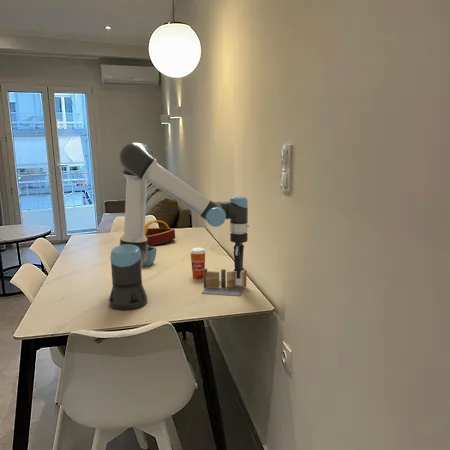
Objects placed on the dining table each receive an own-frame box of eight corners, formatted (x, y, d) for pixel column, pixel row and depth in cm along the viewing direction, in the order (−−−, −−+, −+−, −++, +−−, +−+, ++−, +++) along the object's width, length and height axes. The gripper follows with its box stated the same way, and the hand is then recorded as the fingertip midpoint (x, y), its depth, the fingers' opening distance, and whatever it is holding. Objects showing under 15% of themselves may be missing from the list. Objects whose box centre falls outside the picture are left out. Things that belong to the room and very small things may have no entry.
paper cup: (189, 279, 190) (188, 251, 187) (192, 274, 197) (191, 247, 195) (205, 279, 189) (204, 251, 186) (207, 274, 196) (207, 247, 194)
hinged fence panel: (226, 287, 177) (226, 270, 175) (226, 285, 178) (226, 269, 177) (246, 286, 177) (246, 270, 175) (246, 285, 178) (246, 269, 177)
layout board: (240, 296, 168) (240, 295, 168) (201, 293, 171) (201, 292, 171) (245, 282, 184) (245, 282, 184) (210, 280, 187) (210, 280, 187)
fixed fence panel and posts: (225, 288, 177) (225, 270, 175) (203, 287, 179) (203, 269, 177) (226, 287, 179) (225, 269, 177) (204, 286, 180) (204, 268, 179)
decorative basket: (154, 238, 287) (150, 217, 285) (188, 235, 274) (184, 214, 272) (124, 249, 257) (119, 227, 255) (161, 247, 244) (156, 224, 242)
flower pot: (151, 267, 209) (150, 251, 207) (135, 266, 210) (135, 250, 209) (157, 262, 217) (156, 247, 215) (142, 262, 219) (141, 246, 217)
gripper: (245, 235, 163) (244, 289, 167) (249, 230, 176) (249, 281, 180) (227, 234, 165) (227, 288, 169) (233, 229, 177) (233, 280, 181)
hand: (238, 284), depth 174 cm, fingers closed
